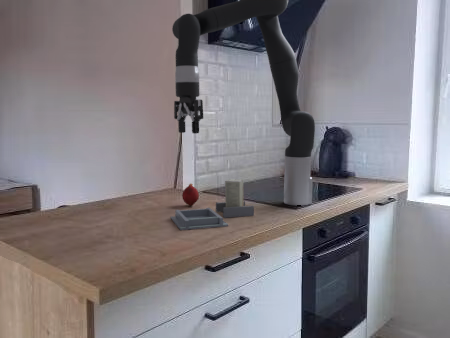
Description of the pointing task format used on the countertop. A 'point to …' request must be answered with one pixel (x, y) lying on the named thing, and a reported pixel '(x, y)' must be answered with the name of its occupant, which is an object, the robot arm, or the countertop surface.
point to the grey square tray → (197, 219)
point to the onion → (190, 195)
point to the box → (234, 193)
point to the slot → (234, 210)
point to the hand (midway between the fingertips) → (188, 133)
